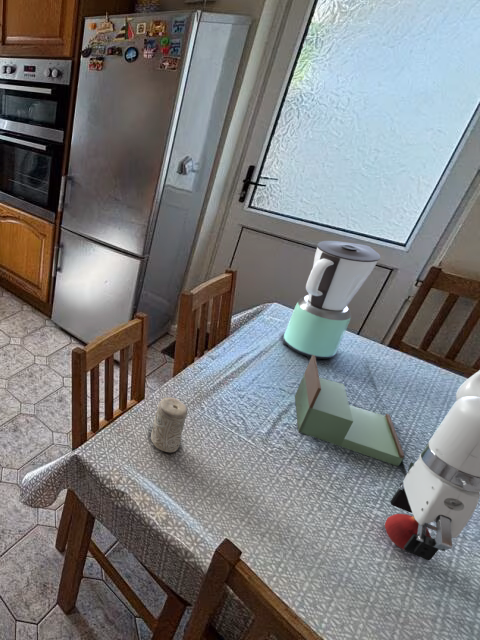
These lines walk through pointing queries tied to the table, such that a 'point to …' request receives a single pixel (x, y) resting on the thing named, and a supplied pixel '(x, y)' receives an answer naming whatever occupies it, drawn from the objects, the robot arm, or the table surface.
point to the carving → (168, 424)
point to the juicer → (329, 298)
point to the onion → (402, 528)
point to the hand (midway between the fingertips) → (408, 529)
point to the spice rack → (343, 419)
